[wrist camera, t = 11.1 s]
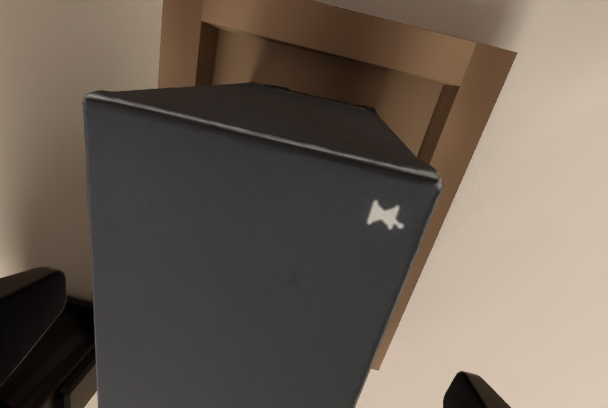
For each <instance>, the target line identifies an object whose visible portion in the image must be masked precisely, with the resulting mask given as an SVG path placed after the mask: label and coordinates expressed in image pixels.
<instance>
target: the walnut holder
mask: <svg viewBox="0 0 608 408" xmlns="http://www.w3.org/2000/svg"><path fill="white" fill-rule="evenodd" d="M516 55H517V53H516V52H512V51H509V50H505V49H501V48H497V47H493V46H489V45H485V44H481V43H477V42H473V41H469V40H465V39H461V38H457V37H453V36H449V35H445V34H441V33H437V32H433V31H429V30H425V29H421V28H417V27H413V26H409V25H405V24H402V23H398V22H394V21H390V20H386V19H382V18H378V17H374V16H370V15H366V14H362V13H358V12H354V11H350V10H346V9H342V8H338V7H334V6H330V5H326V4H322V3H318V2H314V1H310V0H163V12H162V29H161V46H160V63H159V80H158V88H172V87H176V88H178V87H179V88H181V87H185V86H187V87H192V86H208V85H221V84H238V83H249V82H255V83H259V84H267V85H275V86H281V87H286V88H289V89H290V90H291V91H296V92H300V93H307V94H309V95H312V96H317V97H320V98H326V99H327V100H338V101H340V102H347V103H348V104H350V105H365V106H367V107H369V108H371V107H374V108H375V110H376V112H377V113H378V115H379V117H380V118H381V119H382V120H383V121H384V122H385V123H386V124H387V125H388V126H389V127H390V129H391V130H392V131H393V132H394V133H395V134H396V135H397V136H398V137H399V139H400V140H402V142H404V144H405V145H406V146H407V147H408V148H409V149H410V150H411V151H412V153H413V154H414V155H415V156H416V157H418V158H420V159H421V160H423V161H424V162H426V163H427V164H429V165H431V166H432V167H434V168H435V169H436V170H437V172H438V173H439V175H440V177H441V179H442V181H443V183H444V187H443V190H442V193H441V195H440V197H439V200H438V202H437V205H436V207H435V210H434V212H433V215H432V217H431V220H430V222H429V224H428V227H427V229H426V232H425V235H424V238H423V240H422V242H421V244H420V247H419V251H418V253H417V255H416V257H415V259H414V262H413V265H412V268H411V270H410V272H409V275H408V277H407V280H406V282H405V285H404V288H403V290H402V293H401V295H400V298H399V300H398V303H397V305H396V307H395V310H394V312H393V314H392V316H391V319H390V321H389V324H388V327H387V330H386V332H385V334H384V337H383V339H382V342H381V344H380V346H379V349H378V351H377V353H376V356H375V358H374V360H373V363H372V366H371V369H375V370H379V368H380V366H381V363H382V361H383V359H384V357H385V354H386V352H387V350H388V347H389V345H390V343H391V341H392V338H393V336H394V334H395V331H396V329H397V327H398V325H399V322H400V320H401V318H402V315H403V313H404V311H405V309H406V306H407V304H408V302H409V299H410V297H411V295H412V293H413V290H414V288H415V286H416V283H417V281H418V279H419V277H420V274H421V272H422V270H423V267H424V265H425V263H426V261H427V258H428V256H429V254H430V251H431V249H432V247H433V245H434V242H435V240H436V238H437V235H438V233H439V231H440V229H441V226H442V224H443V222H444V219H445V217H446V215H447V213H448V210H449V208H450V206H451V203H452V201H453V199H454V197H455V194H456V192H457V190H458V187H459V185H460V183H461V181H462V178H463V176H464V174H465V171H466V169H467V167H468V165H469V162H470V160H471V158H472V155H473V153H474V151H475V149H476V146H477V144H478V142H479V139H480V137H481V135H482V133H483V130H484V128H485V126H486V123H487V121H488V119H489V117H490V114H491V112H492V110H493V107H494V105H495V103H496V101H497V98H498V96H499V94H500V91H501V89H502V87H503V85H504V82H505V80H506V78H507V75H508V73H509V71H510V69H511V66H512V64H513V62H514V59H515V57H516Z"/></svg>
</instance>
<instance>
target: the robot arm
mask: <svg viewBox="0 0 608 408" xmlns="http://www.w3.org/2000/svg"><path fill="white" fill-rule="evenodd" d="M96 391H97V374H96V352H95V329H94V308H93V303H91V302H87V301H83V300H79V299H75V298H71V297H67V296H66V279H65V274H64V272H63V271H61V270H58V269H54V268H50V267H39V268H35V269H32V270H28V271H24V272H21V273H17V274H13V275H10V276H6V277H3V278H0V408H84V407H85V406H86V404H87V403H88V402H89V400H90V399H91V398H92V396H93V395H94V394H95V392H96ZM443 408H511V407H510V406H509V405H508V404H507V403H506V402H505V401H504V400H503V399H502V398H501V397H500V396H499V395H498V394H497V393H496V392H495V391H494V390H493V389H492V388H491V387H490V386H489V385H488V384H487V383H486V382H485V381H484V380H483V379H482V378H481V377H480V376H478V375H476V374H472V373H468V372H464V371H460V372H459V373H457V374H456V376H455V378H454V379H453V381H452V383H451V385H450V386H449V388H448V390H447V392H446V393H445V396H444V400H443Z"/></svg>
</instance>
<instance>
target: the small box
mask: <svg viewBox="0 0 608 408" xmlns="http://www.w3.org/2000/svg"><path fill="white" fill-rule="evenodd" d="M83 112H84V131H85V146H86V171H87V195H88V212H89V228H90V247H91V266H92V287H93V308H94V329H95V352H96V374H97V396H98V408H355V406H356V403H357V401H358V398H359V396H360V394H361V391H362V389H363V386H364V384H365V381H366V379H367V376H368V374H369V372H370V369H371V366H372V363H373V360H374V358H375V356H376V353H377V351H378V349H379V346H380V344H381V342H382V339H383V337H384V334H385V332H386V330H387V327H388V324H389V321H390V319H391V316H392V314H393V312H394V310H395V307H396V305H397V303H398V300H399V298H400V295H401V293H402V290H403V288H404V285H405V282H406V280H407V277H408V275H409V272H410V270H411V268H412V265H413V262H414V259H415V257H416V255H417V253H418V251H419V247H420V244H421V242H422V240H423V238H424V235H425V232H426V229H427V227H428V224H429V222H430V220H431V217H432V215H433V212H434V210H435V207H436V205H437V202H438V200H439V197H440V195H441V193H442V190H443V187H444V183H443V181H442V179H441V177H440V175H439V173H438V172H437V170H436V169H435V168H434V167H432V166H431V165H429V164H427V163H426V162H424V161H423V160H421V159H420V158H418V157H416V156H415V155H414V154H413V153H412V151H411V150H410V149H409V148H408V147H407V146H406V145H405V144H404V142H402V140H400V139H399V137H398V136H397V135H396V134H395V133H394V132H393V131H392V130H391V129H390V127H389V126H388V125H387V124H386V123H385V122H384V121H383V120H382V119H381V118H380V117H379V115H378V113H377V112H376V110H375V108H374V107H371V108H369V107H367V106H365V105H350V104H348V103H347V102H340V101H338V100H327V99H326V98H320V97H317V96H312V95H309V94H307V93H300V92H296V91H291V90H290V89H289V88H286V87H281V86H275V85H267V84H259V83H255V82H249V83H238V84H221V85H208V86H192V87H187V86H185V87H181V88H179V87H178V88H176V87H172V88H158V89H146V90H133V91H119V92H112V91H103V90H101V91H94V92H90V93H88V94H85V95H84V99H83Z"/></svg>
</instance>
